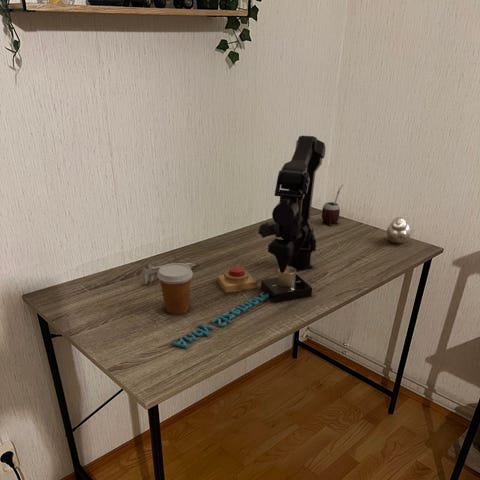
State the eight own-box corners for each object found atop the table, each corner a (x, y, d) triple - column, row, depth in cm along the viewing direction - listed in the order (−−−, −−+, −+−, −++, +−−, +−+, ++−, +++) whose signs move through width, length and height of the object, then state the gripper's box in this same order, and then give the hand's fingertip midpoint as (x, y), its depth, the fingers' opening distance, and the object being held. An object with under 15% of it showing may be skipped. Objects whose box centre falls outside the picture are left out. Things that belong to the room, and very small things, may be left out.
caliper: (145, 285, 151) (144, 266, 147) (143, 284, 151) (142, 265, 148) (196, 266, 163) (195, 248, 160) (193, 265, 164) (193, 247, 161)
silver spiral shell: (378, 241, 185) (383, 215, 179) (396, 236, 189) (400, 211, 184) (397, 249, 178) (402, 222, 173) (414, 244, 183) (420, 218, 178)
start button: (240, 270, 152) (240, 265, 151) (245, 276, 149) (245, 271, 148) (227, 272, 151) (227, 267, 150) (232, 278, 147) (232, 273, 146)
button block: (246, 277, 156) (246, 265, 154) (256, 288, 150) (256, 276, 148) (216, 282, 153) (216, 270, 151) (225, 293, 147) (225, 281, 145)
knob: (298, 286, 145) (299, 271, 142) (282, 288, 143) (283, 273, 141) (290, 278, 149) (291, 264, 146) (274, 281, 147) (275, 266, 145)
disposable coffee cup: (180, 320, 133) (177, 280, 127) (153, 310, 137) (149, 271, 131) (200, 306, 140) (199, 267, 134) (174, 297, 144) (172, 259, 138)
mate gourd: (320, 225, 199) (324, 188, 192) (321, 219, 206) (324, 183, 198) (339, 226, 198) (343, 189, 191) (339, 220, 205) (343, 184, 197)
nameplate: (168, 343, 123) (182, 351, 120) (168, 341, 122) (182, 348, 119) (260, 293, 147) (273, 298, 144) (260, 290, 146) (273, 296, 144)
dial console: (295, 282, 153) (296, 273, 152) (311, 296, 145) (312, 287, 144) (260, 288, 150) (261, 279, 148) (274, 303, 142) (275, 293, 140)
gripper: (274, 201, 145) (272, 250, 153) (250, 220, 130) (249, 273, 138) (311, 206, 141) (306, 256, 149) (290, 226, 127) (287, 281, 134)
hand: (287, 266), depth 143 cm, fingers open, 9 cm apart
